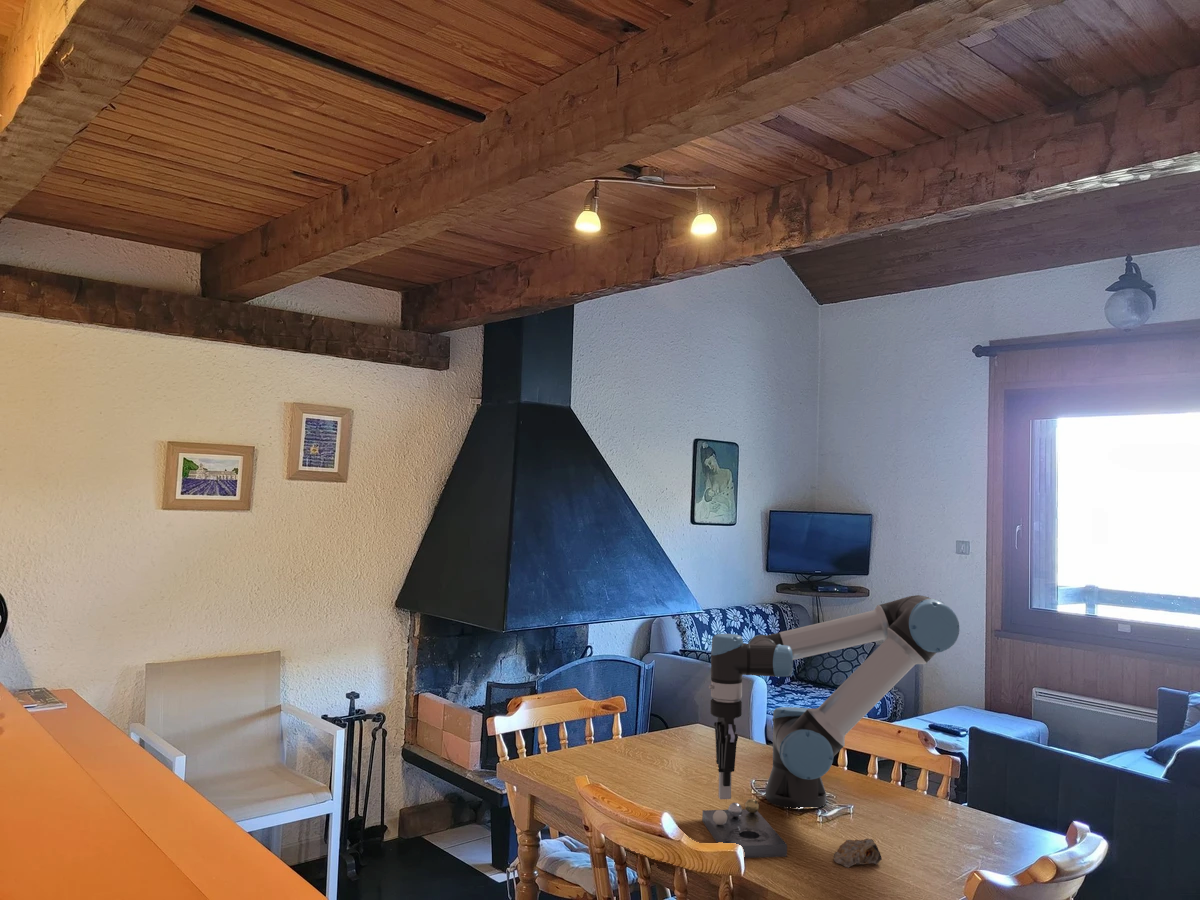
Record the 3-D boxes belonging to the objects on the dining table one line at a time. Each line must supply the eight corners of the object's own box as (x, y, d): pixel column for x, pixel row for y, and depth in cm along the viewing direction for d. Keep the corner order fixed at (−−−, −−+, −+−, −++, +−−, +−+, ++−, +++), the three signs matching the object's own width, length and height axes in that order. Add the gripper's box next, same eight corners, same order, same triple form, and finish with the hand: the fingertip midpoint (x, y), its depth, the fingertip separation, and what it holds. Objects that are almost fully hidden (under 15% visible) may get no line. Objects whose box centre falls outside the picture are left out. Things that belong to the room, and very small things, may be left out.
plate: (702, 821, 208) (702, 810, 209) (755, 819, 210) (755, 809, 210) (727, 858, 187) (727, 846, 187) (786, 856, 188) (787, 844, 188)
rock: (872, 854, 191) (827, 843, 192) (879, 830, 190) (833, 820, 191) (882, 881, 183) (834, 869, 183) (889, 856, 182) (841, 845, 182)
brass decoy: (756, 810, 209) (756, 796, 210) (760, 815, 206) (760, 801, 206) (743, 810, 209) (743, 796, 209) (747, 815, 206) (747, 801, 206)
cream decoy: (725, 822, 201) (725, 807, 201) (728, 827, 198) (729, 812, 198) (711, 822, 201) (711, 807, 201) (714, 827, 198) (715, 812, 198)
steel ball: (739, 814, 206) (740, 800, 206) (743, 819, 203) (744, 805, 203) (726, 814, 206) (726, 800, 206) (730, 819, 203) (730, 805, 203)
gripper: (704, 693, 221) (703, 789, 219) (717, 705, 208) (716, 807, 206) (733, 693, 222) (732, 789, 220) (748, 705, 209) (747, 807, 207)
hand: (724, 798), depth 213 cm, fingers closed
